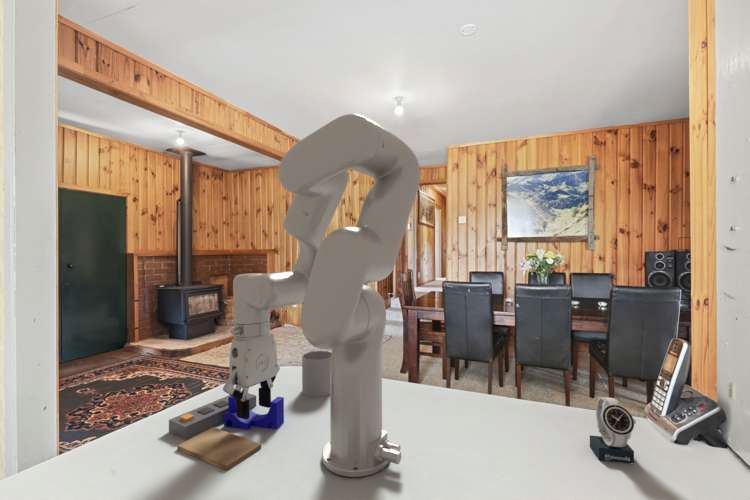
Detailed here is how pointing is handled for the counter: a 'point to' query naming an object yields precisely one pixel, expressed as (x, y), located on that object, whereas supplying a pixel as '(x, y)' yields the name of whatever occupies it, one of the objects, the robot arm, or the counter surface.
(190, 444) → the wooden board
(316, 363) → the cup
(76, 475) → the counter surface
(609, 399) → the watch
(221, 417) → the power strip
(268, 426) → the cable clip
